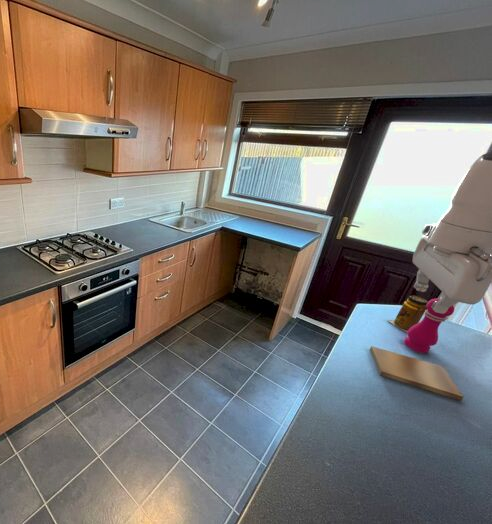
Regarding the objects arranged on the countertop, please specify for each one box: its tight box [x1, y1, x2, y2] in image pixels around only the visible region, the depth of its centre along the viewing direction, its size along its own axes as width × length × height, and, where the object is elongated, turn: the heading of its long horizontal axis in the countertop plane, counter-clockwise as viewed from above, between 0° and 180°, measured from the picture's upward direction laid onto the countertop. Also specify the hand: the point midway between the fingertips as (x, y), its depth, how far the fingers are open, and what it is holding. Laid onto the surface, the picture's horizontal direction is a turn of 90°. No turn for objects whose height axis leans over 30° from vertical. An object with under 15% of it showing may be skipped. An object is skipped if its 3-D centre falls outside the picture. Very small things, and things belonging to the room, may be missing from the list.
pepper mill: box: [403, 298, 455, 354], centre depth 90 cm, size 7×7×20 cm
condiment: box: [387, 295, 429, 333], centre depth 102 cm, size 7×8×12 cm
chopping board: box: [369, 345, 464, 401], centre depth 83 cm, size 18×12×2 cm, turn 65°
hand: (427, 299), depth 60 cm, fingers open, 8 cm apart
